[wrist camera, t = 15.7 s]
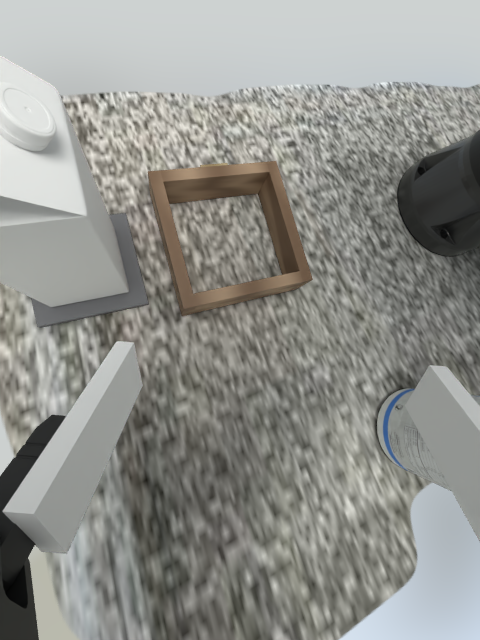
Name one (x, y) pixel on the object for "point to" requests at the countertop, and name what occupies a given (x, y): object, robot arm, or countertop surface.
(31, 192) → the milk carton
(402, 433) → the supplement tub
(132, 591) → the countertop surface
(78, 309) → the rubber mat
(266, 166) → the wooden square frame
